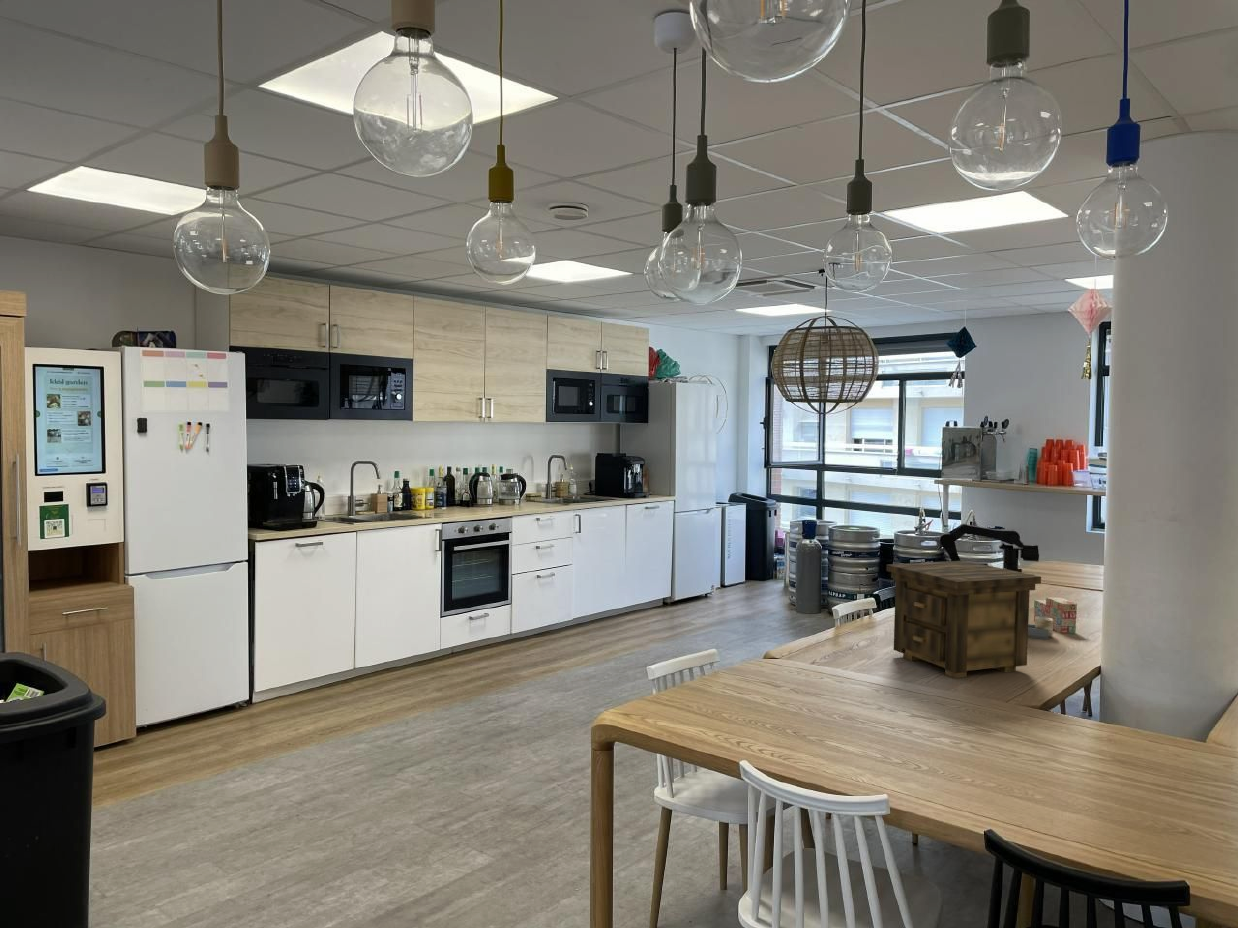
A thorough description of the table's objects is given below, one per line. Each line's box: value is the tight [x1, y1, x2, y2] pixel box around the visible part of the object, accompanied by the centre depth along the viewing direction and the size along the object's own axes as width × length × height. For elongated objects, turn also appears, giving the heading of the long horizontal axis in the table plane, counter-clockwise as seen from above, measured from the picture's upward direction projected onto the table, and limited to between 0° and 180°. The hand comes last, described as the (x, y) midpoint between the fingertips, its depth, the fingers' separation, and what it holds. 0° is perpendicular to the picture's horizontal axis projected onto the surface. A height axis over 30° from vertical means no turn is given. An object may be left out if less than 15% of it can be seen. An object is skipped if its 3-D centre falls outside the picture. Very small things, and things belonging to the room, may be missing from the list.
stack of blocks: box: [1033, 596, 1078, 634], centre depth 353 cm, size 21×6×12 cm, turn 2°
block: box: [1034, 616, 1054, 637], centre depth 337 cm, size 6×6×6 cm
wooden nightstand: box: [885, 560, 1042, 678], centre depth 294 cm, size 35×35×33 cm
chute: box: [1028, 623, 1050, 640], centre depth 340 cm, size 20×9×4 cm, turn 66°
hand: (1009, 597), depth 353 cm, fingers closed
